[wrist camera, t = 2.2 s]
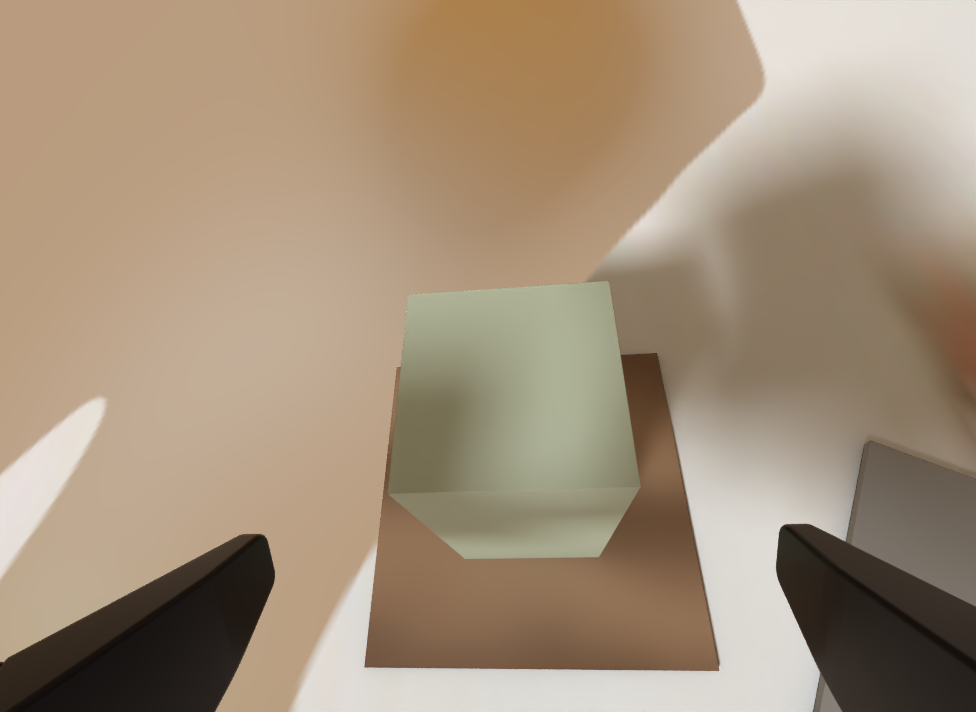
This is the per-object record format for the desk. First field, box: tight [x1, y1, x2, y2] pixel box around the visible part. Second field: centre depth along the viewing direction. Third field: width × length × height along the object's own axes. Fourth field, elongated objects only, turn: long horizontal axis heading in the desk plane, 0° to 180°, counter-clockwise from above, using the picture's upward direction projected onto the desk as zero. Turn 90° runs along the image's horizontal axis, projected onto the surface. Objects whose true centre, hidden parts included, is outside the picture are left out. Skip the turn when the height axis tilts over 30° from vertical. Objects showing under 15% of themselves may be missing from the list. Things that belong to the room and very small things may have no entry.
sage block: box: [388, 281, 641, 559], centre depth 15 cm, size 5×5×10 cm
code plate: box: [365, 353, 719, 671], centre depth 20 cm, size 12×12×1 cm
